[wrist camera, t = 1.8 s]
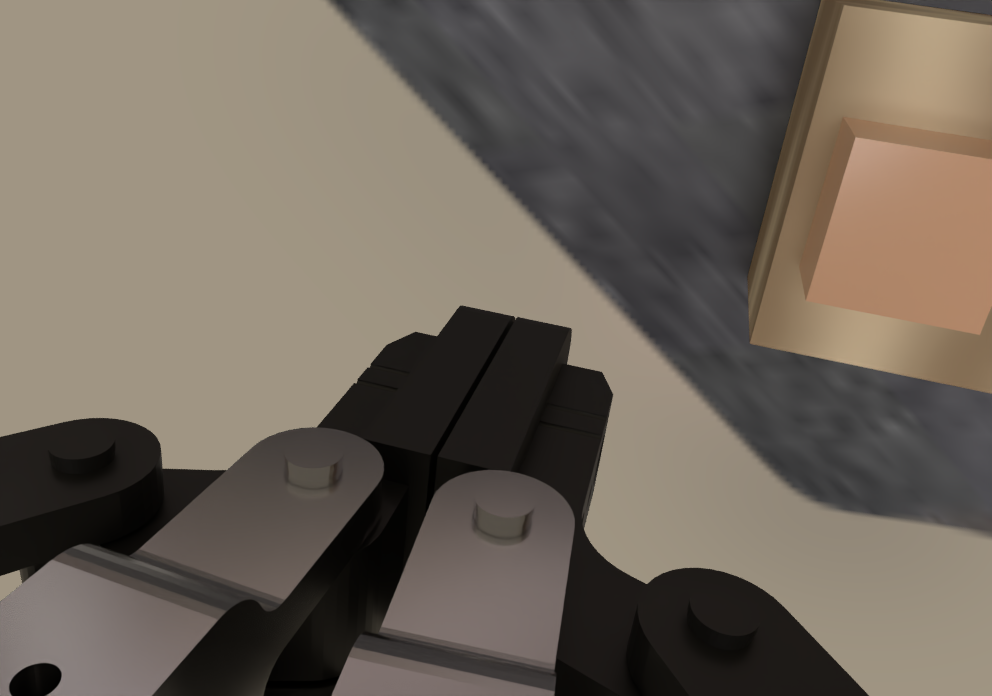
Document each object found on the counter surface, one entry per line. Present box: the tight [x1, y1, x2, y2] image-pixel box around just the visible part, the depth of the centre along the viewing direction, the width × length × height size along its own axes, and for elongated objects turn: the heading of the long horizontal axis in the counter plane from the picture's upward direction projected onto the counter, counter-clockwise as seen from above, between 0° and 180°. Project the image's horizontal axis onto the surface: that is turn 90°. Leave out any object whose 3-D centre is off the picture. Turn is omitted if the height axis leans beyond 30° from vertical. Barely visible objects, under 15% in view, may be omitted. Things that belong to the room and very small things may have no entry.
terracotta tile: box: [799, 117, 992, 335], centre depth 21 cm, size 4×4×2 cm
